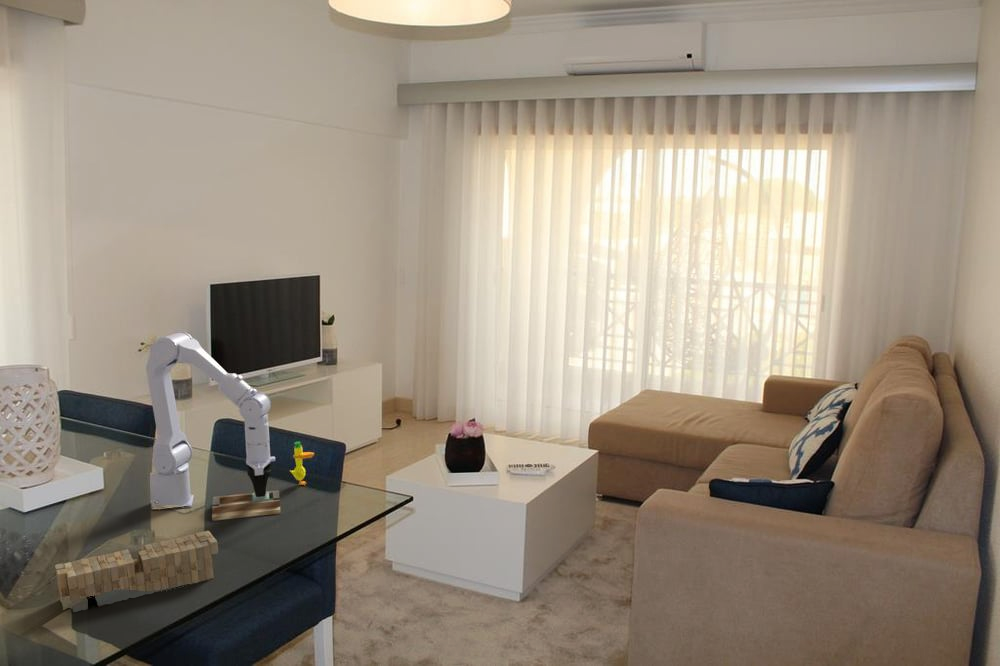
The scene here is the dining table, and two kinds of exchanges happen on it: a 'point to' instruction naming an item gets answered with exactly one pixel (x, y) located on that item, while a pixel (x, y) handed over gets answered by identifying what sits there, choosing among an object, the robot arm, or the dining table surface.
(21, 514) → the dining table surface
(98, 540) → the dining table surface
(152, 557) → the block tower
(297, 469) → the toy figure
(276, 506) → the track
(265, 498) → the slider
